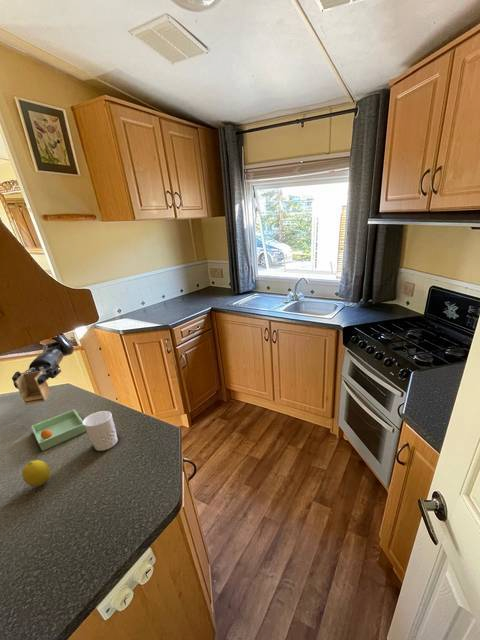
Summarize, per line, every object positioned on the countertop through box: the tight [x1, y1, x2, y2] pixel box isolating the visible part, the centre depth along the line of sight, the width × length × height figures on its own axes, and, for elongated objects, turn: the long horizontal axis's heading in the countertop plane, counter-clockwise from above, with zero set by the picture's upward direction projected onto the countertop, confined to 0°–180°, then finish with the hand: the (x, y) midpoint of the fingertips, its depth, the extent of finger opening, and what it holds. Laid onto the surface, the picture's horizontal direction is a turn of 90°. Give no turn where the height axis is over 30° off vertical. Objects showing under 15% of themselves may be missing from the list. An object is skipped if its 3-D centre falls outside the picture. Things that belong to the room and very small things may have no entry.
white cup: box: [82, 410, 119, 452], centre depth 91 cm, size 8×8×10 cm
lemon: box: [21, 459, 51, 487], centre depth 77 cm, size 6×6×8 cm
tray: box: [30, 409, 87, 452], centre depth 99 cm, size 13×13×3 cm
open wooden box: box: [15, 371, 52, 405], centre depth 100 cm, size 6×6×9 cm
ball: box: [41, 430, 52, 439], centre depth 96 cm, size 3×3×3 cm
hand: (28, 384), depth 97 cm, fingers closed on open wooden box, 6 cm apart
